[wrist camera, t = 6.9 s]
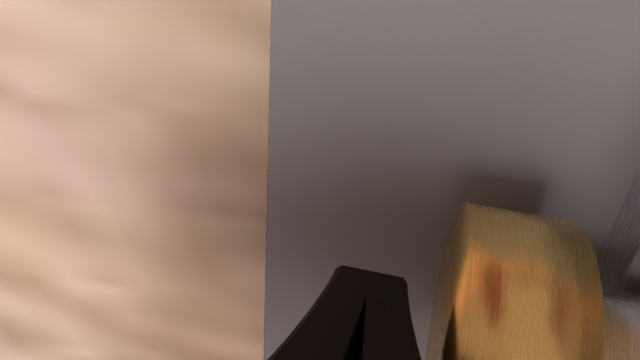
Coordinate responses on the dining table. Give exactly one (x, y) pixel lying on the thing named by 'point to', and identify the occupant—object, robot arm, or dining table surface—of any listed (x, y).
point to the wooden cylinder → (525, 293)
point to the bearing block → (623, 250)
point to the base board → (437, 133)
